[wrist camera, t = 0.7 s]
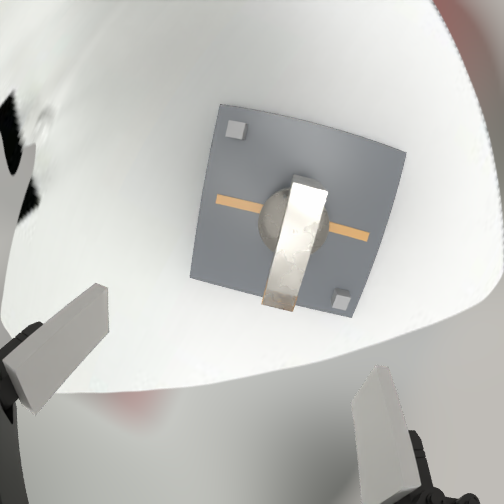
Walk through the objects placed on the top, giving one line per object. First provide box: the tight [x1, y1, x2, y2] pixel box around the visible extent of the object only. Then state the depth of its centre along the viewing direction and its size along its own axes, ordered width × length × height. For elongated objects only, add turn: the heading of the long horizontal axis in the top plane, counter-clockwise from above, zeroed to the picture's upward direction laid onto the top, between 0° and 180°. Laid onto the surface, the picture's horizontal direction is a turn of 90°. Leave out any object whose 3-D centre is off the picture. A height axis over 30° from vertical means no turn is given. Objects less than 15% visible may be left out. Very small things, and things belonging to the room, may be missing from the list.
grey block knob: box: [258, 174, 329, 312], centre depth 29 cm, size 11×8×11 cm
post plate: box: [190, 104, 406, 318], centre depth 36 cm, size 24×24×3 cm
